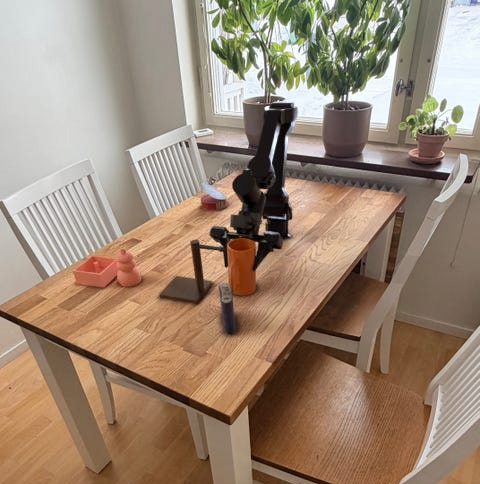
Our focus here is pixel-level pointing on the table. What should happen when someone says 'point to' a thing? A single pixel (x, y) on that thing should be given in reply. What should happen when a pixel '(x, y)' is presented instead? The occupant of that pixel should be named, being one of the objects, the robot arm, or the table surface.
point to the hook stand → (190, 279)
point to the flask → (227, 308)
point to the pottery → (108, 270)
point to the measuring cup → (241, 266)
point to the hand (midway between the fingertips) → (239, 269)
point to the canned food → (213, 198)
